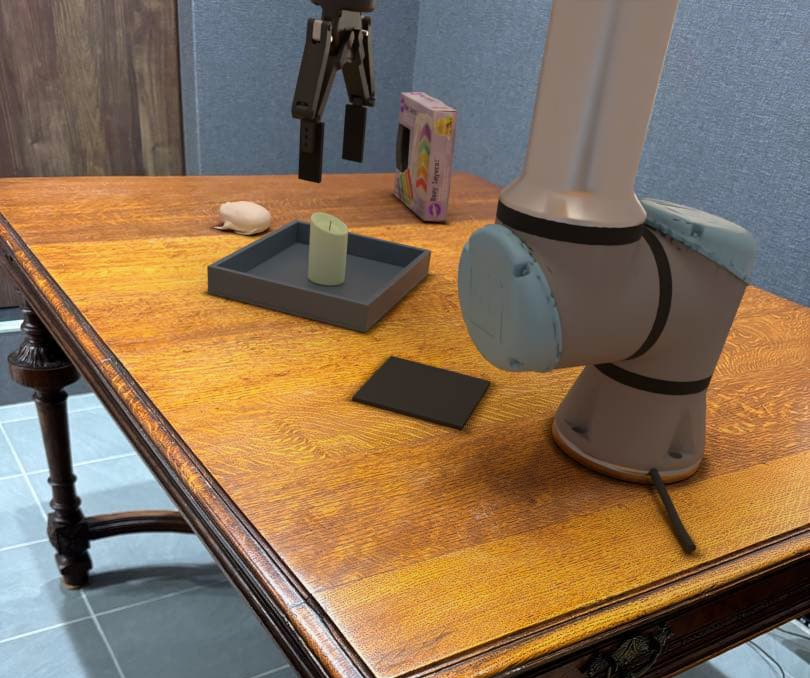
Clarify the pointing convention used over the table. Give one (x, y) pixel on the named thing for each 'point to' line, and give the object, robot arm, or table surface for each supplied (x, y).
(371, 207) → the table surface
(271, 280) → the bin
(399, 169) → the cake pan box
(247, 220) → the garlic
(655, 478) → the robot arm
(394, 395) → the mat
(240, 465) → the table surface
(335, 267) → the candle
